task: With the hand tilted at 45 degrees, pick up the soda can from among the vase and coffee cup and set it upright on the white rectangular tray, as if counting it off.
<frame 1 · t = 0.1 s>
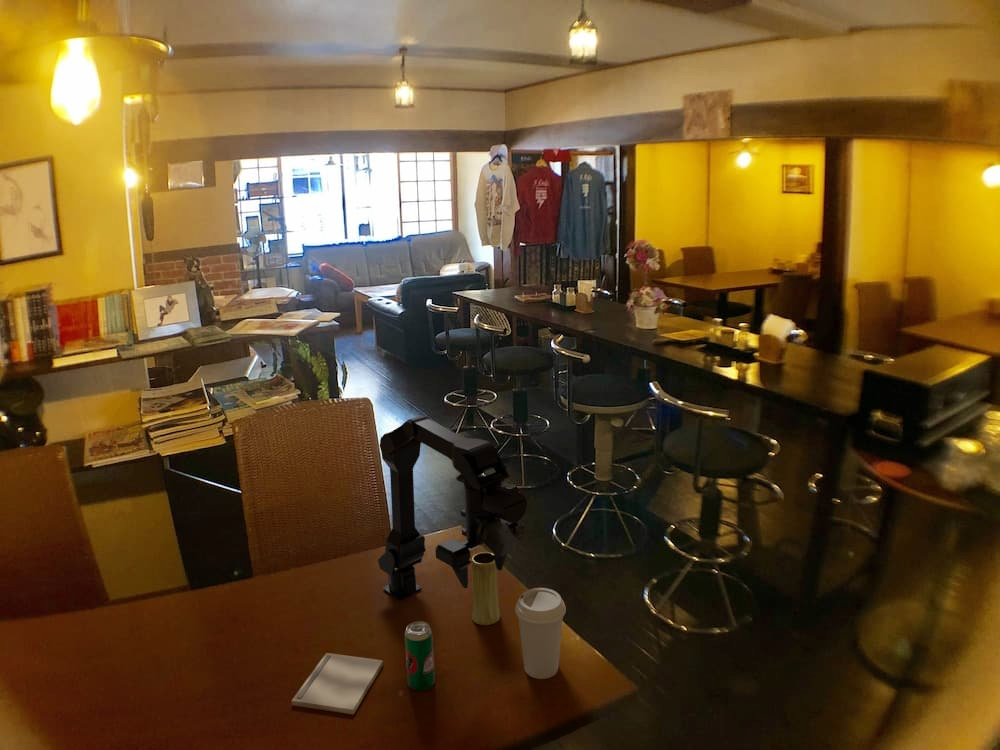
hand: (482, 578, 146), 15 cm above the table, tool pointing down, fingers open, 9 cm apart
soda can: (421, 684, 138), on the table
coffee cup: (541, 668, 142), on the table
vase: (486, 618, 158), on the table
white rectangular tray: (339, 684, 139), on the table
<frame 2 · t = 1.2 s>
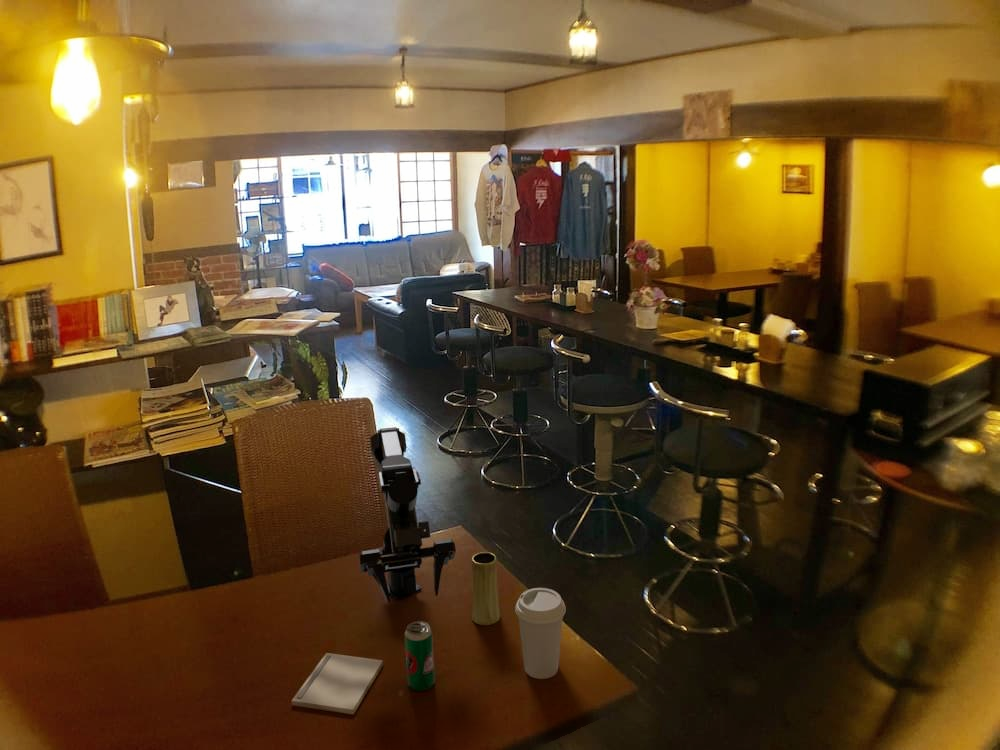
hand: (413, 599, 142), 13 cm above the table, tool tilted 45°, fingers open, 9 cm apart
nothing on the table moved.
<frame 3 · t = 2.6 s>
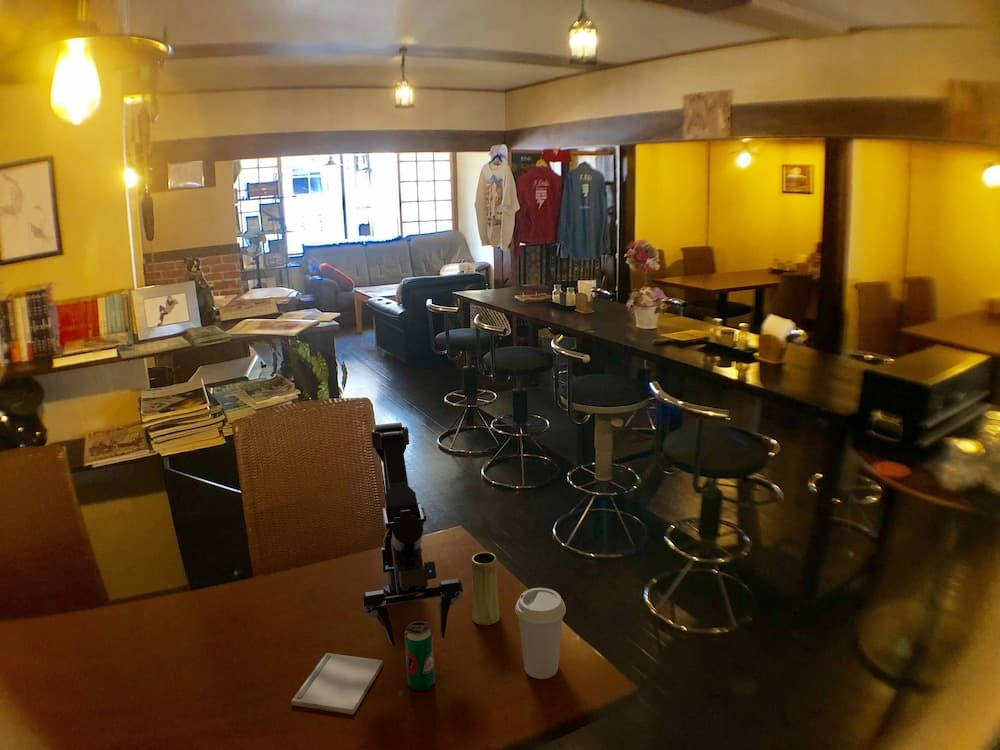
hand: (418, 642, 137), 8 cm above the table, tool tilted 45°, fingers open, 9 cm apart
nothing on the table moved.
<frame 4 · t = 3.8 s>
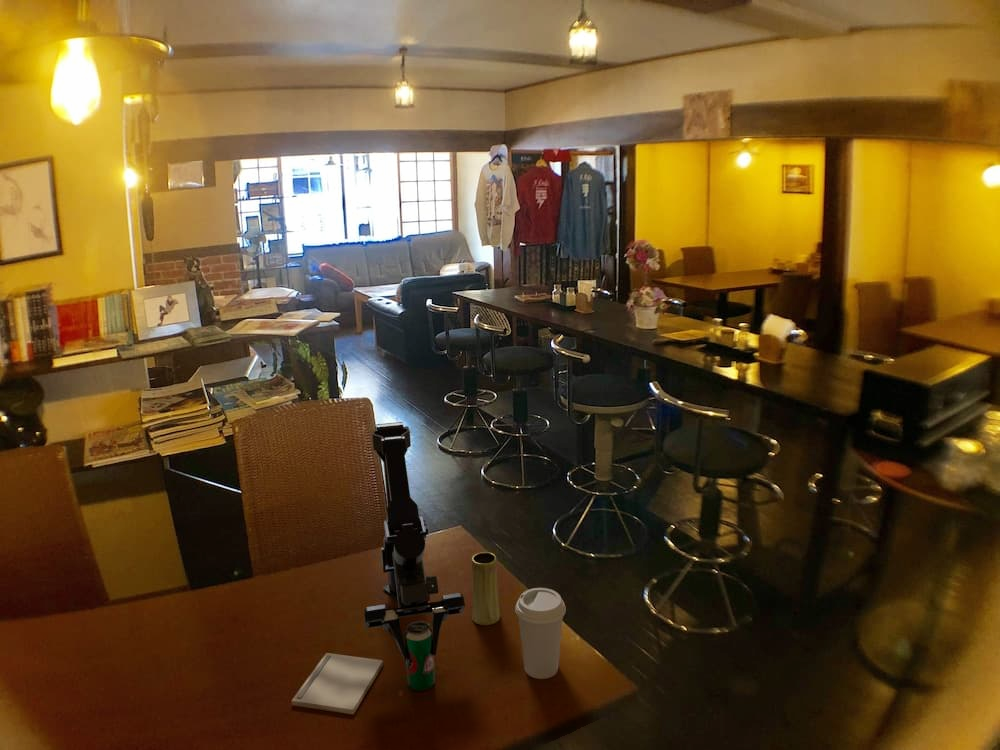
hand: (420, 657, 135), 7 cm above the table, tool tilted 45°, fingers closed on soda can, 5 cm apart
soda can: (421, 684, 138), on the table, touching gripper
everything else where it was.
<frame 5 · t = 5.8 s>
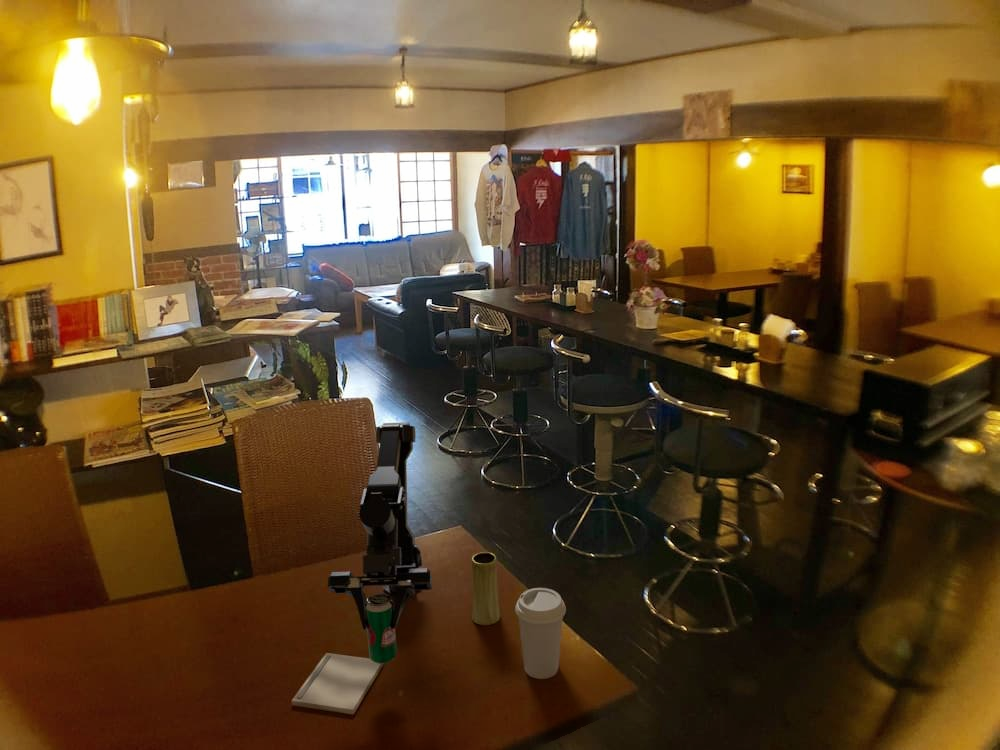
hand: (379, 629, 133), 13 cm above the table, tool tilted 45°, fingers closed on soda can, 5 cm apart
soda can: (383, 657, 136), point 6 cm above the table, touching gripper
everything else where it was.
when the fingers open (9 cm above the table, at t = 7.8 s): soda can stays where it is, resting on white rectangular tray.
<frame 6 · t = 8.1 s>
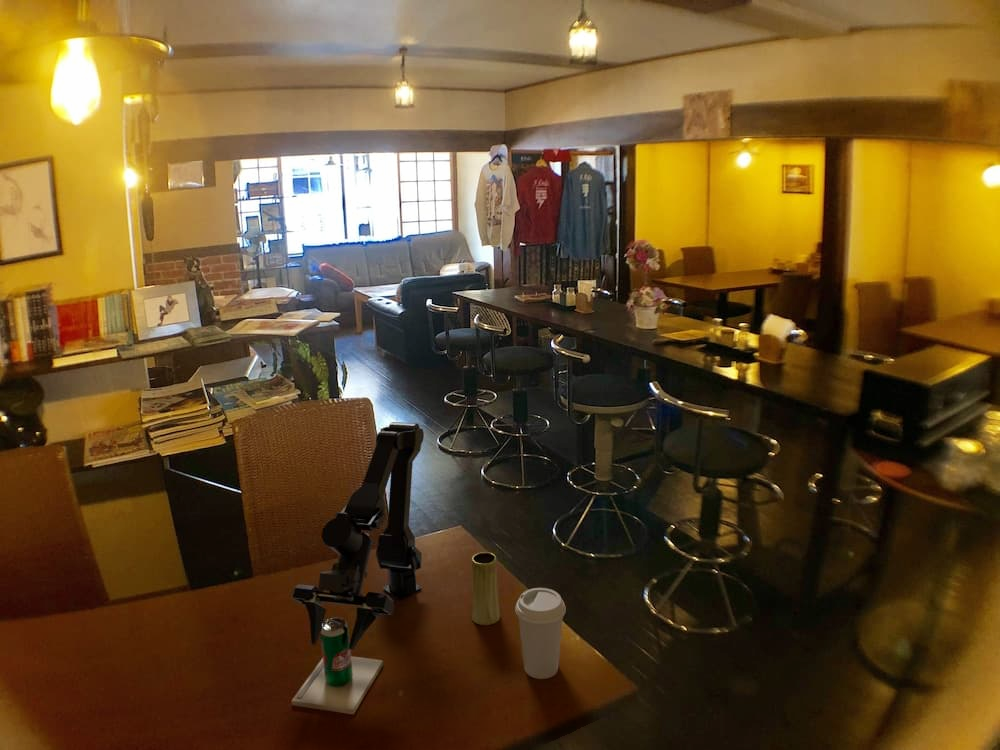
hand: (332, 647, 135), 9 cm above the table, tool tilted 45°, fingers open, 7 cm apart
soda can: (339, 680, 138), point 1 cm above the table, touching white rectangular tray
everything else where it was.
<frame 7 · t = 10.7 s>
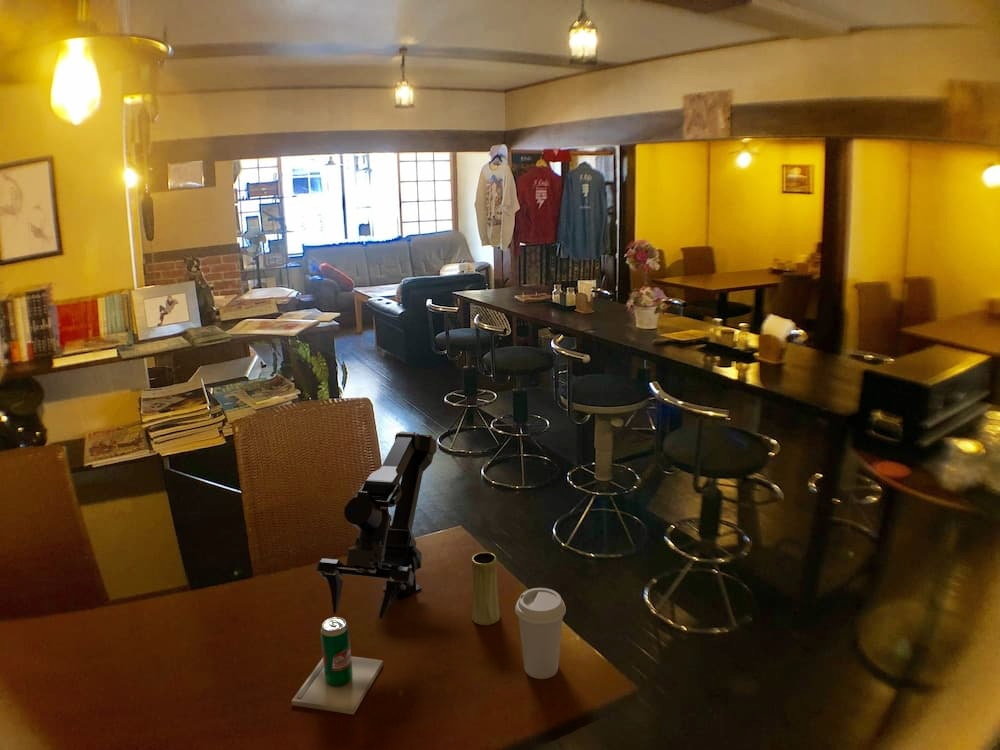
hand: (357, 616, 144), 9 cm above the table, tool tilted 40°, fingers open, 9 cm apart
nothing on the table moved.
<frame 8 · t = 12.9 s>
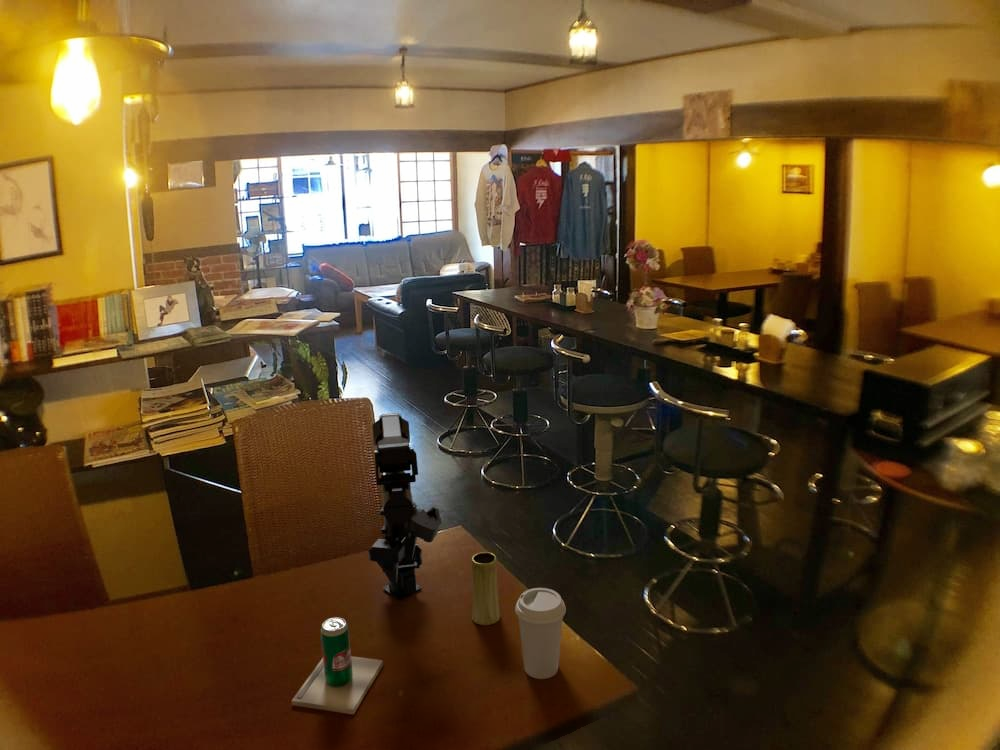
hand: (402, 571, 153), 13 cm above the table, tool pointing down, fingers open, 9 cm apart
nothing on the table moved.
at the end: soda can inside the target area on the white rectangular tray (0.1 cm from its centre), point 0.8 cm above the white rectangular tray's base; soda can tilted 0°; the gripper is holding nothing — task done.
